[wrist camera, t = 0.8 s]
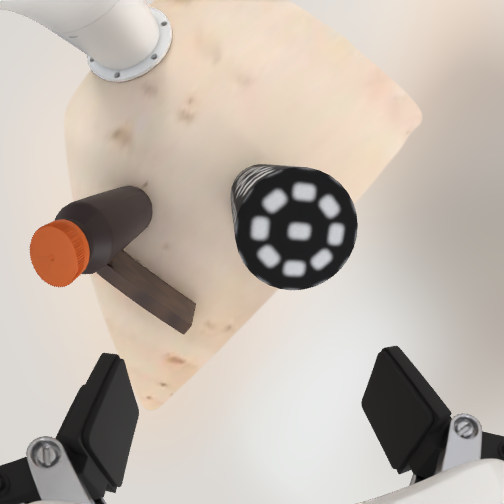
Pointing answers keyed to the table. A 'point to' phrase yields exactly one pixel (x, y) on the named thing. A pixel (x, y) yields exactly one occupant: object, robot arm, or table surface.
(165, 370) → the table surface
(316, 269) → the white-spotted black cylinder
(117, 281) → the bar
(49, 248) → the bottle
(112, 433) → the robot arm
